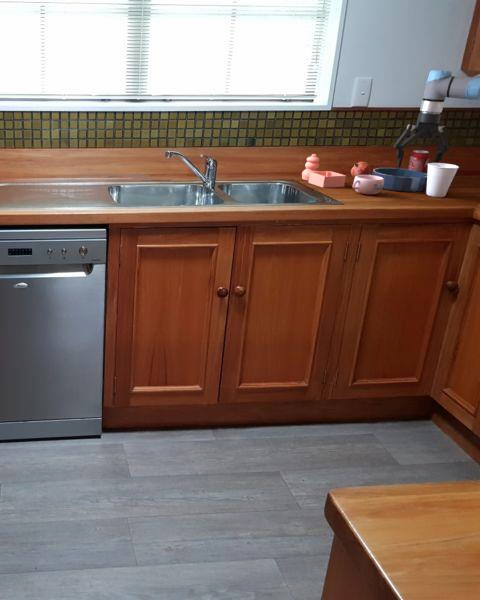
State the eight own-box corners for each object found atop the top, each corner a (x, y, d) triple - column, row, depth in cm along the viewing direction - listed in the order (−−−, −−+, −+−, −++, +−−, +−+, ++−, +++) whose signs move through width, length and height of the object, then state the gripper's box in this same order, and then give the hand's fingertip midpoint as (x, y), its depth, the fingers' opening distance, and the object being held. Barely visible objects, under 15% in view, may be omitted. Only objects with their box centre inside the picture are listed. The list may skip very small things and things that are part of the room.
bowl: (415, 183, 242) (418, 169, 240) (432, 193, 224) (436, 179, 222) (364, 180, 245) (367, 166, 242) (377, 190, 227) (381, 176, 225)
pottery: (343, 186, 232) (349, 160, 229) (322, 187, 230) (327, 161, 226) (315, 177, 248) (319, 152, 244) (295, 177, 246) (299, 153, 242)
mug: (366, 189, 229) (370, 173, 226) (387, 195, 220) (391, 179, 218) (341, 191, 225) (344, 175, 222) (361, 197, 216) (365, 181, 214)
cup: (450, 200, 216) (458, 169, 211) (419, 196, 220) (426, 165, 216) (451, 195, 223) (459, 164, 219) (421, 191, 228) (428, 161, 224)
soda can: (419, 184, 240) (426, 153, 236) (401, 181, 245) (408, 150, 240) (425, 181, 245) (433, 151, 240) (408, 179, 249) (415, 149, 244)
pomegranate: (358, 182, 250) (342, 167, 247) (372, 169, 247) (357, 153, 244) (365, 188, 244) (349, 173, 241) (380, 174, 241) (364, 159, 238)
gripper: (461, 113, 236) (446, 167, 244) (393, 109, 240) (380, 164, 248) (468, 115, 229) (453, 171, 238) (399, 112, 233) (386, 167, 241)
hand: (416, 167), depth 243 cm, fingers open, 13 cm apart
